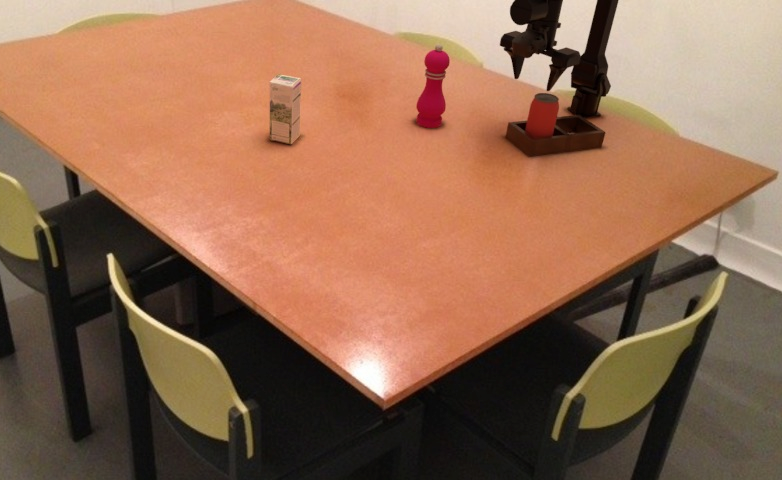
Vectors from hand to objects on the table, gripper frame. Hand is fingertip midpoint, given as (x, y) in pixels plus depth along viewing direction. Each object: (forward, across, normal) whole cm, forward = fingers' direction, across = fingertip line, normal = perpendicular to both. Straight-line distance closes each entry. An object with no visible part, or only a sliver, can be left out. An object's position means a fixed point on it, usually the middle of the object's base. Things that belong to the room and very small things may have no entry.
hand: (532, 84), depth 182 cm
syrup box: (+14, -33, -48) cm, 60 cm away
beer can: (+14, +5, 0) cm, 14 cm away
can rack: (+14, +6, +4) cm, 16 cm away
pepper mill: (+14, -19, -13) cm, 27 cm away
